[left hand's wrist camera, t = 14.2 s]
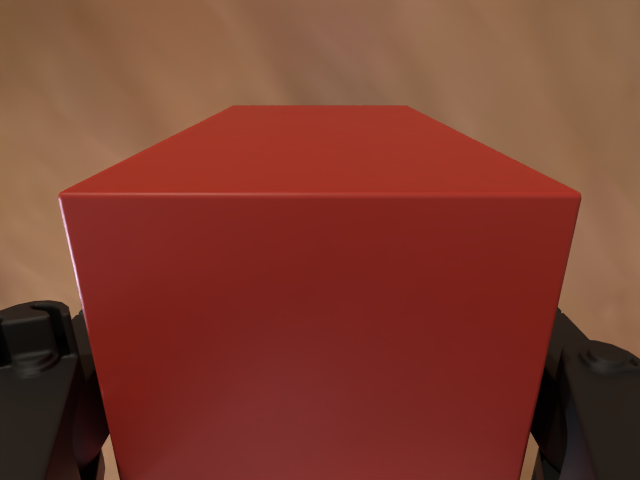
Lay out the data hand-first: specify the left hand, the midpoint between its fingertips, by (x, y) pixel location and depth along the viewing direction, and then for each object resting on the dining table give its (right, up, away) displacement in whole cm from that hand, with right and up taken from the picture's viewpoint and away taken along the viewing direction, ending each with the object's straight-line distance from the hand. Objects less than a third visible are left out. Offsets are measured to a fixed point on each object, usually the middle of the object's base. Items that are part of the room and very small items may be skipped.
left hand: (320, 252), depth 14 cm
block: (0, +1, +3) cm, 4 cm away
